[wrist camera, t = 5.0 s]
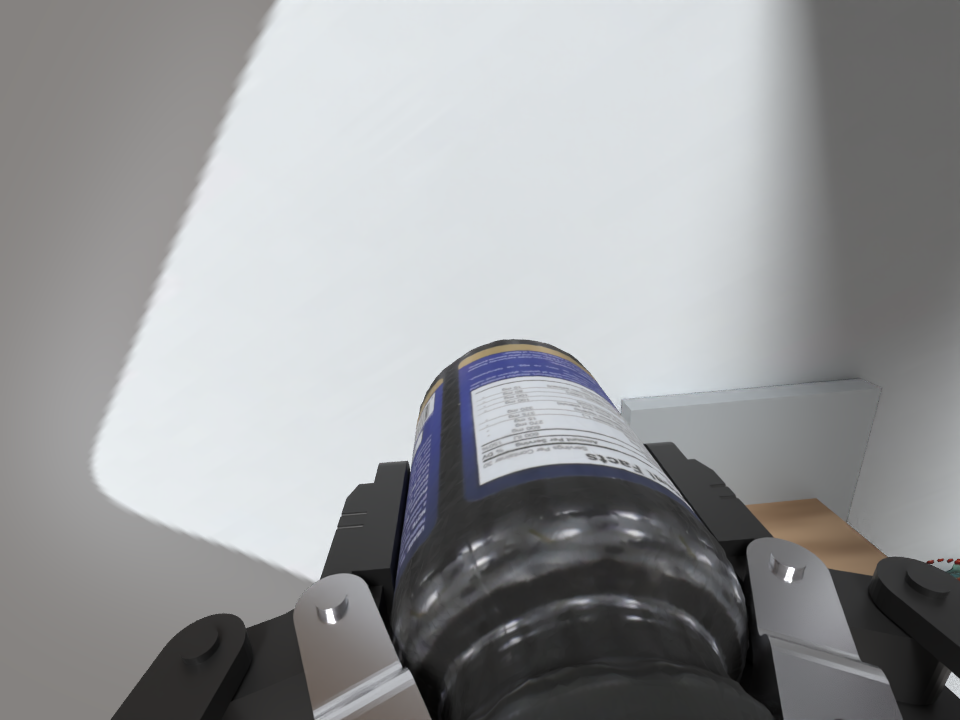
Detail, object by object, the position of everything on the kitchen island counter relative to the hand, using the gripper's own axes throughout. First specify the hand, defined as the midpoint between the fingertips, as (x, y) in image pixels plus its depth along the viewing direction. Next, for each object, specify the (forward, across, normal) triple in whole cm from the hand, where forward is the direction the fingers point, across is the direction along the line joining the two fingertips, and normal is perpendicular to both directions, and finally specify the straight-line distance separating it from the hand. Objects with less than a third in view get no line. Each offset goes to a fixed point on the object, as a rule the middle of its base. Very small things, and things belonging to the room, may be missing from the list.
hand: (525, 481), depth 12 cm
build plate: (+9, -12, +11) cm, 19 cm away
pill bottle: (+3, 0, 0) cm, 3 cm away
